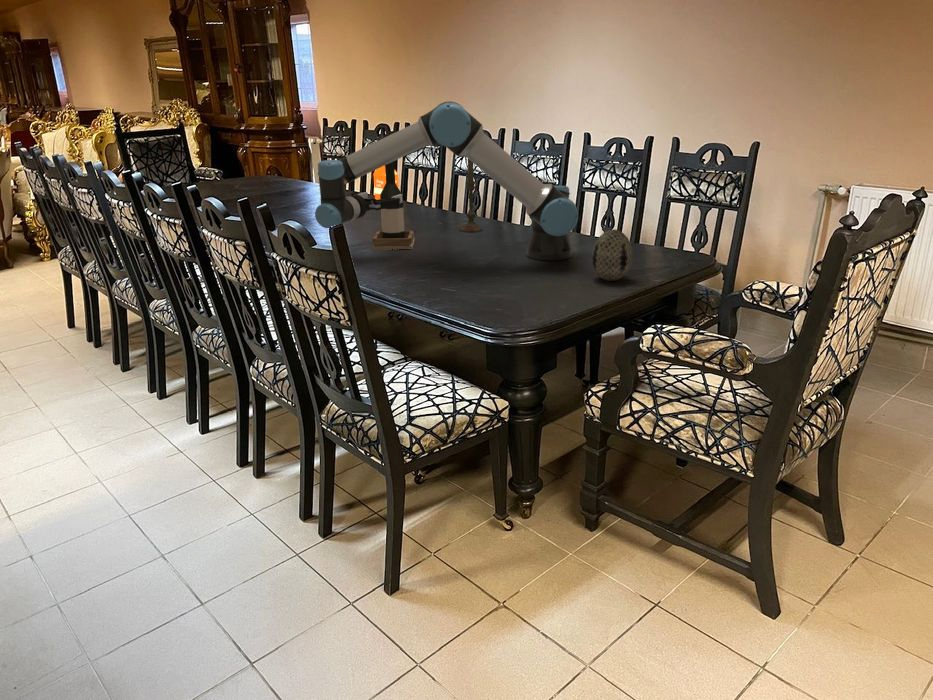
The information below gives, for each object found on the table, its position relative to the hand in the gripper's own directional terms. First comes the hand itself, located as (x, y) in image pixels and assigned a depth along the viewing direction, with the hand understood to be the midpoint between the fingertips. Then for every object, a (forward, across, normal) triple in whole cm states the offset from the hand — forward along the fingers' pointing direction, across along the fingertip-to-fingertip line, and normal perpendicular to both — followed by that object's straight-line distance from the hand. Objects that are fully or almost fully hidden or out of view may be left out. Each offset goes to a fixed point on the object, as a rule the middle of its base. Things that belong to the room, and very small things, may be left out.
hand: (384, 197), depth 238 cm
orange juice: (+72, -40, -18) cm, 84 cm away
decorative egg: (-12, +82, -18) cm, 85 cm away
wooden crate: (+5, 0, -18) cm, 19 cm away
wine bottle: (+5, 0, -17) cm, 18 cm away
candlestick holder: (+38, +17, -18) cm, 45 cm away
